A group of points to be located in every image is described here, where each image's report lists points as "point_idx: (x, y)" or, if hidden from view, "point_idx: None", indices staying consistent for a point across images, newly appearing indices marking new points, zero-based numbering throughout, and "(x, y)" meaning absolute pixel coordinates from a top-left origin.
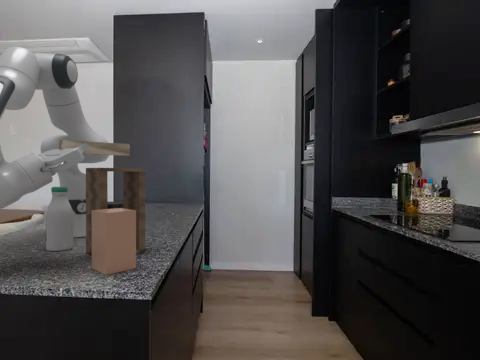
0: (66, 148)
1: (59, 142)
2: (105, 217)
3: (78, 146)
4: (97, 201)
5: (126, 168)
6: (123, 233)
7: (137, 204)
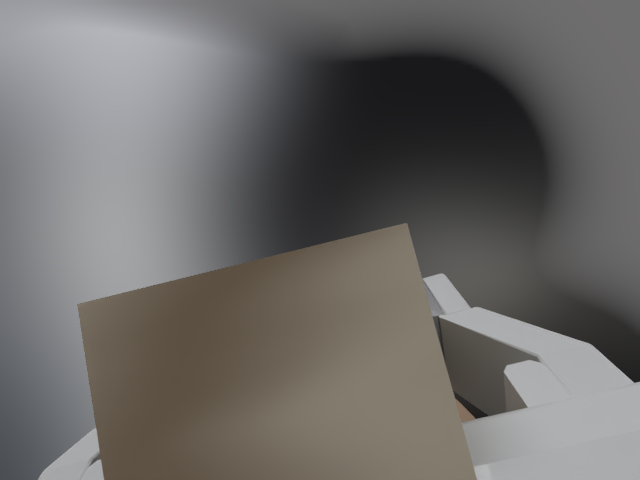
0: (473, 428)
1: (108, 351)
2: None
3: (474, 323)
4: None
5: (464, 410)
6: None
7: None
